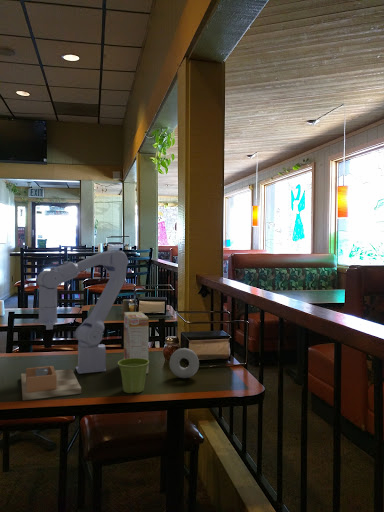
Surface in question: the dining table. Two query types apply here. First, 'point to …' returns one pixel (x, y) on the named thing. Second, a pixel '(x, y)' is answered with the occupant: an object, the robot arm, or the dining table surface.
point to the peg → (41, 371)
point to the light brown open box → (41, 379)
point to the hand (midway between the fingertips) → (47, 347)
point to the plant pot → (133, 374)
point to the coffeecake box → (136, 335)
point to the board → (65, 386)
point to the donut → (189, 356)
